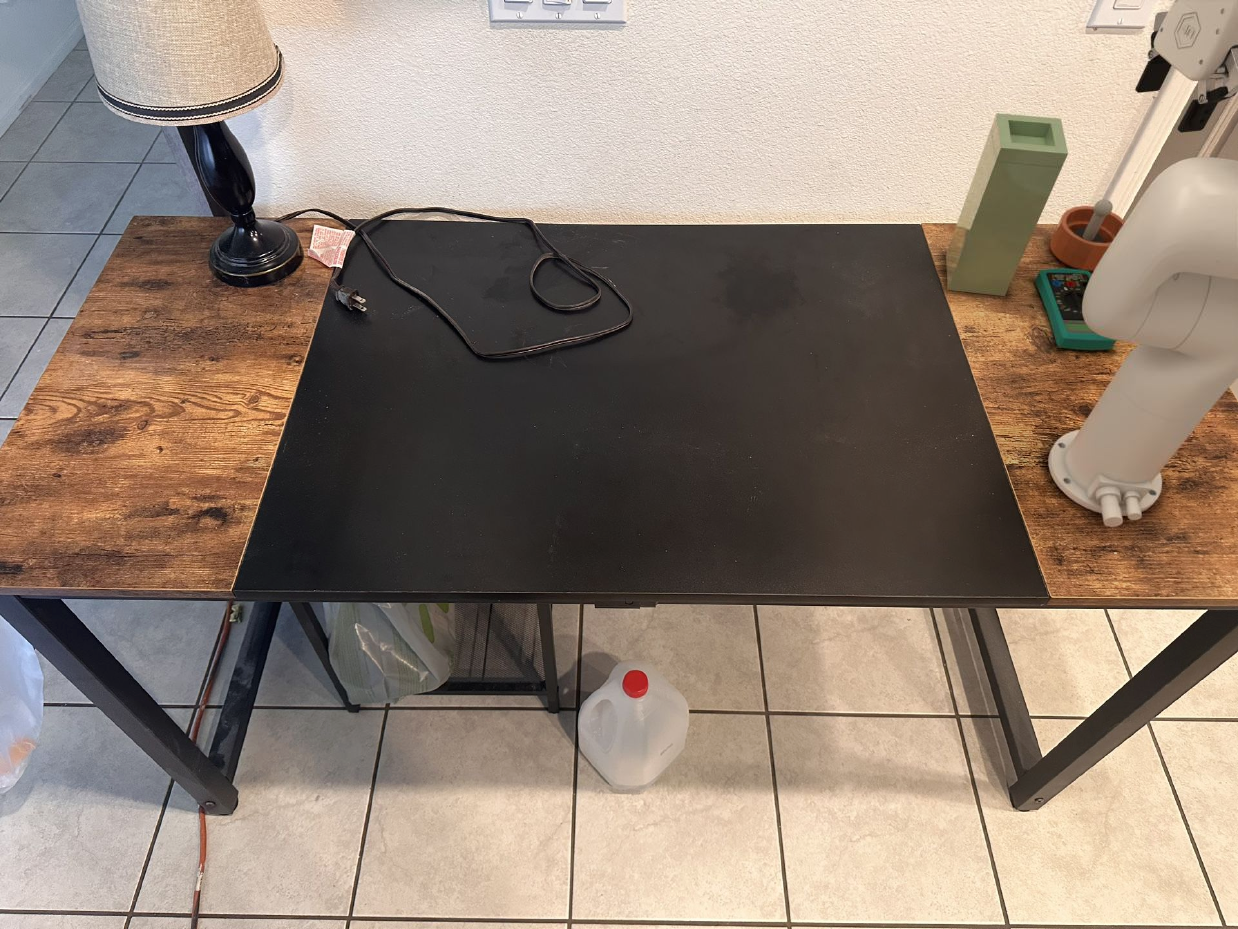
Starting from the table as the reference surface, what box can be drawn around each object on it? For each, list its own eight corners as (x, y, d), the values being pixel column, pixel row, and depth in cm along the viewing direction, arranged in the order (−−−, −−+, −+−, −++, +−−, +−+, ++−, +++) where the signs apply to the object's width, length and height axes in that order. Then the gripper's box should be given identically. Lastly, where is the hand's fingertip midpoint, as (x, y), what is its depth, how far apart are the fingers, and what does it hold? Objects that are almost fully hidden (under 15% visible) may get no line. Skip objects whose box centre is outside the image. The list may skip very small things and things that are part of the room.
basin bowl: (1119, 276, 126) (1135, 249, 122) (1051, 269, 127) (1065, 242, 123) (1109, 237, 131) (1124, 209, 127) (1045, 230, 132) (1057, 202, 128)
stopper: (1099, 259, 127) (1125, 211, 120) (1068, 256, 128) (1092, 208, 121) (1095, 241, 130) (1120, 193, 123) (1065, 238, 130) (1088, 190, 124)
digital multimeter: (1083, 281, 125) (1091, 265, 123) (1111, 353, 116) (1121, 337, 114) (1031, 279, 126) (1038, 263, 123) (1056, 351, 116) (1064, 335, 114)
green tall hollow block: (1004, 296, 123) (1068, 153, 105) (947, 290, 124) (1001, 147, 106) (1000, 261, 128) (1061, 118, 110) (945, 255, 129) (996, 112, 111)
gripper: (1168, -64, 100) (1104, 79, 114) (1260, 0, 89) (1178, 150, 103) (1227, -68, 101) (1157, 74, 114) (1325, -6, 90) (1235, 143, 104)
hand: (1167, 110), depth 109 cm, fingers open, 9 cm apart
